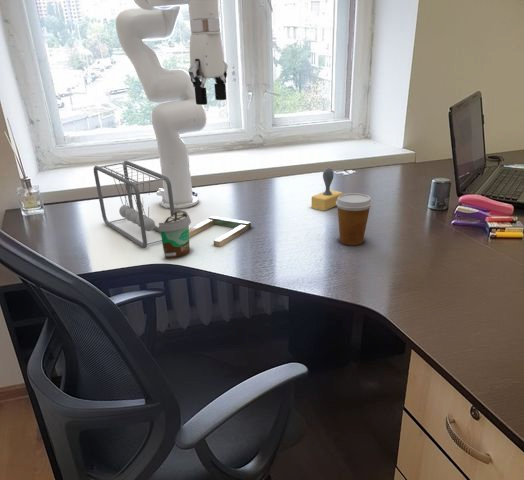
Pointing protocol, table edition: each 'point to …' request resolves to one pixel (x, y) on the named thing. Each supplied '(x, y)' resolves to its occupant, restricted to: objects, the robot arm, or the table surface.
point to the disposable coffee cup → (353, 217)
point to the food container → (175, 234)
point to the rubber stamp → (326, 193)
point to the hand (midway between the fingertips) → (211, 102)
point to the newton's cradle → (128, 211)
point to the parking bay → (237, 224)
